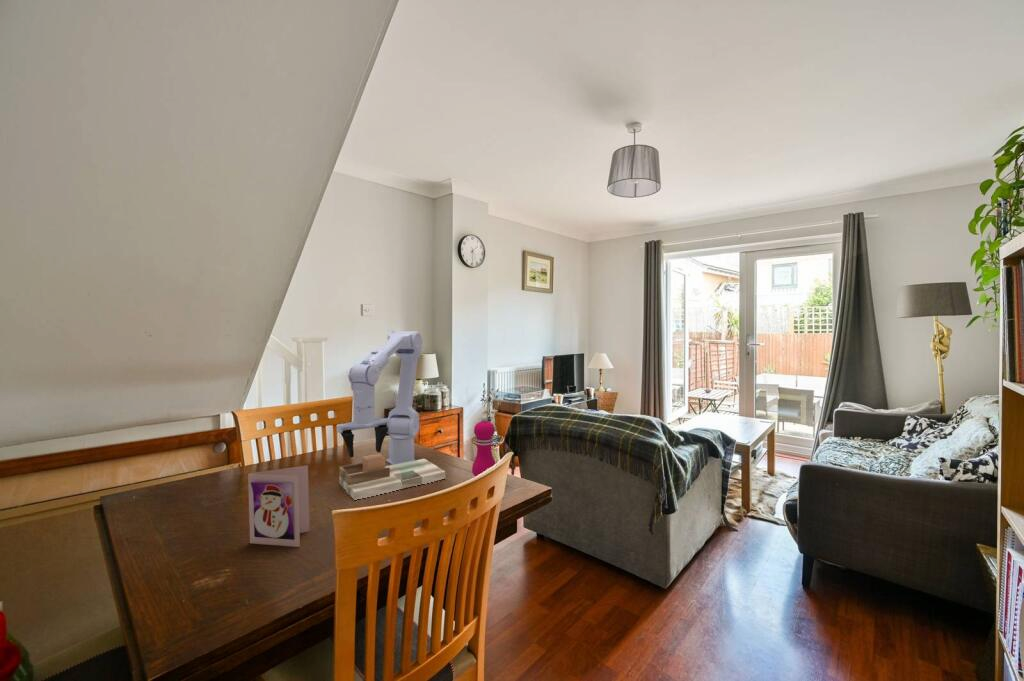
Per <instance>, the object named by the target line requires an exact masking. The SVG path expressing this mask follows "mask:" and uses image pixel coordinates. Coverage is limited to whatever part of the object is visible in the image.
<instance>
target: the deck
mask: <svg viewBox="0 0 1024 681" xmlns="http://www.w3.org/2000/svg"><path fill="white" fill-rule="evenodd" d="M388 467H389V468H390V477H386V478H381V479H376V480H372V481H367V482H362V483H358V484H353V485H348V484H347V483H346V482H345V481H344V480H343V479H342V478H341V476H340V475H339V474H338V475H339V485H340V486H341V488H343V490H344V489H345V490H346V491H345V490H344V491H345V492H346V493H347V494H348V496H349V495H350V496H351V497H352V498H353V499H354V500H357V499H361V500H363V499H362V498H366V499H368V498H367V497H370V498H372V497H371V496H374V497H377V496H376V495H378V496H381V495H380V494H383V495H385V494H384V493H387V494H390V493H389V492H391V493H393V492H392V491H395V492H397V491H396V490H399V489H403V488H406V487H411V486H416V487H418V486H417V485H421V484H425V485H428V484H427V483H429V484H432V483H431V482H433V483H435V482H434V481H437V480H441V479H444V478H445V479H446V470H444V469H442V468H440V467H439V466H438V465H436V464H434V463H432V462H431V461H429V460H427V459H426V458H419V459H415V460H414V461H409V462H404V463H399V464H394V465H391V464H390V465H389V464H388V465H385V468H388ZM358 473H363V472H358ZM358 473H353V474H358ZM353 474H349V475H353ZM409 478H411V479H409ZM405 479H406V480H405ZM401 480H402V481H401ZM421 486H422V485H421ZM399 491H400V490H399ZM350 496H349V497H350ZM351 497H350V498H351ZM352 498H351V499H352ZM353 499H352V500H353ZM354 500H353V501H354ZM357 501H358V500H357Z"/></svg>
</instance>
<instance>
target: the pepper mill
mask: <svg viewBox="0 0 1024 681" xmlns="http://www.w3.org/2000/svg"><path fill="white" fill-rule="evenodd" d="M480 419H481V421H478V422H477V423H475V425H474V428H473V433H474V434H473V435H475V436H476V437H475V444H476V445H477V451H476V452H477V453H476V456H475V458H474V460H473V463H472V466H471V473H472V474H473V476H474V477H475V476H477V475H478V474H480V473H482V472H483V471H485V470H486V469H487V468H489V467H491V466H493V465H494V464H495V463H496V462H497V461H496V460H495V458H494V456H493V453H492V444H493V443H494V438H493V436H494V435H495V432H496V431H495V430H496V429H495V426H494V424H493V423H492V422H491V421H488V416H486V415H483V416H481V417H480ZM496 464H497V463H496Z"/></svg>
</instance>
